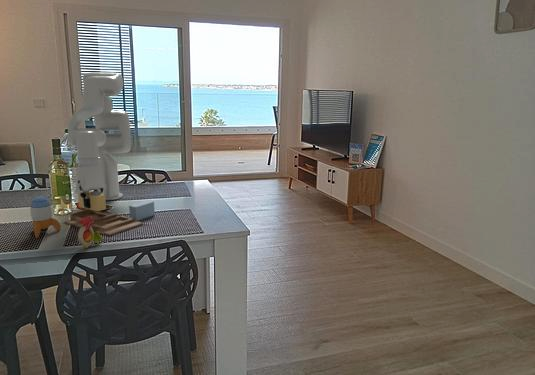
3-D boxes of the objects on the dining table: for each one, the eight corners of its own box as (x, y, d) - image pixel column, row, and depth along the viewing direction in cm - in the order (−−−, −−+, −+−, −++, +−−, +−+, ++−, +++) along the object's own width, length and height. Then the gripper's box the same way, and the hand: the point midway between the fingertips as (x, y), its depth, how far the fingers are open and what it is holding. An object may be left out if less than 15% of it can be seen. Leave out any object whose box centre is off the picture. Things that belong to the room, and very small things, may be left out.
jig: (64, 222, 172) (63, 215, 171) (98, 213, 185) (97, 206, 184) (109, 236, 157) (109, 228, 157) (143, 224, 170) (142, 217, 170)
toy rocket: (40, 241, 154) (25, 203, 150) (25, 240, 160) (10, 203, 156) (65, 229, 162) (51, 193, 158) (50, 229, 168) (36, 193, 164)
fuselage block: (78, 206, 174) (77, 189, 172) (87, 204, 177) (85, 187, 176) (97, 211, 168) (96, 193, 166) (106, 209, 171) (104, 191, 170)
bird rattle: (95, 254, 146) (106, 236, 153) (85, 230, 139) (97, 212, 146) (78, 253, 147) (90, 235, 154) (67, 229, 140) (80, 212, 147)
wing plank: (130, 219, 177) (129, 205, 176) (148, 213, 186) (147, 200, 184) (136, 221, 175) (135, 207, 174) (154, 215, 183) (153, 201, 182)
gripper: (100, 158, 177) (104, 200, 181) (63, 164, 163) (68, 209, 167) (112, 160, 173) (115, 203, 177) (75, 166, 159) (80, 212, 163)
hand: (92, 205), depth 172 cm, fingers closed on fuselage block, 4 cm apart
